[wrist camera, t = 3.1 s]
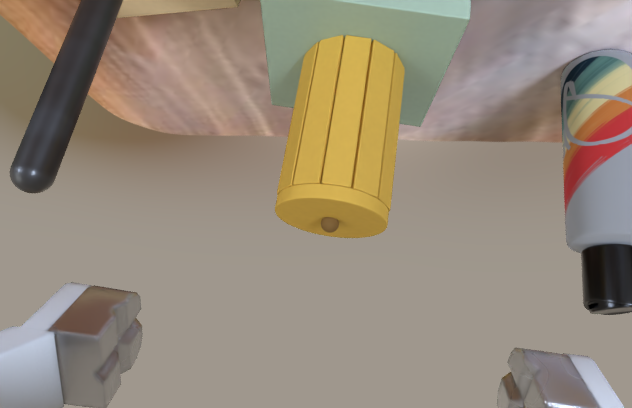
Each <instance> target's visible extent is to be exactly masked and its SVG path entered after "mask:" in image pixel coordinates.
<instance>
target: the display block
mask: <svg viewBox="0 0 632 408" xmlns="http://www.w3.org/2000/svg"><path fill="white" fill-rule="evenodd" d="M260 2H261V11H262V20H263V29H264V38H265V47H266V56H267V65H268V74H269V83H270V92H271V101H272V105H277V106H283V107H290V108H294V105H295V100H296V95H297V90H298V84H299V79H300V74H301V69H302V64H303V59H304V56H305V54H306V53H307V52H308V51H309V50H310V49H311V48H312V47H313V46H314V45H315V44H316V43H317V42H319V43H320V40H323V39H327V38H331V37H335V36H340V35H343V36H344V38H345V36H346V35H350V36H357V37H364V38H371V40H372V41H373V40H376V41H378V42H380V43H382V44H383V45H385V46H387V47H388V48H390V49H392V50H394V53H397V55H398V57H399V58H400V60H401V62H402V64H403V66H404V68H405V69H404V71H405V74H404V83H403V93H402V102H401V112H400V121H399V124H405V125H412V126H419V127H420V126H421V124H422V122H423V120H424V118H425V116H426V114H427V111H428V109H429V107H430V105H431V103H432V101H433V98H434V96H435V94H436V92H437V90H438V88H439V85H440V83H441V81H442V79H443V77H444V74H445V72H446V70H447V68H448V66H449V64H450V61H451V59H452V57H453V55H454V53H455V51H456V48H457V46H458V44H459V42H460V40H461V38H462V35H463V33H464V31H465V29H466V27H467V24H468V22H469V20H470V9H471V0H260ZM372 41H371V42H372Z"/></svg>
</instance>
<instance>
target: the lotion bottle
mask: <svg viewBox="0 0 632 408" xmlns="http://www.w3.org/2000/svg"><path fill="white" fill-rule="evenodd" d="M561 112H562V141H563V169H564V198H565V225H566V242H567V245H568V247H569V248H570V249H572V250H573V251H576V252H579V253H581V259H582V282H583V304H584V306H585V308H586V309H588V310H589V311H590V313H592V314H604V315H616V314H623V313H630V312H632V54H631V53H628V52H626V51H622V50H600V51H595V52H591V53H588V54H585V55H583V56H581V57H579V58H577V59H575V60H574V61H572V62H571V63H570V64H569V65H568V66H567V67H566V68H565V69H564V71H563V73H562V76H561Z"/></svg>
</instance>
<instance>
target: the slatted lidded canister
mask: <svg viewBox="0 0 632 408" xmlns="http://www.w3.org/2000/svg"><path fill="white" fill-rule="evenodd" d="M371 41H372V40H371V38H364V37H357V36H350V35H346V36H345V38H344V36H343V35H340V36H335V37H331V38H327V39H323V40H320V43H319V42H317V43H316V44H315V45H314V46H313V47H312V48H311V49H310V50H309V51H308V52H307V53H306V54H305V56H304V59H303V64H302V69H301V74H300V79H299V84H298V90H297V95H296V100H295V105H294V110H293V115H292V120H291V125H290V130H289V135H288V141H287V145H286V150H285V155H284V160H283V165H282V171H281V176H280V180H279V186H278V190H277V195H278V196H277V201H276V206H275V212H276V214H277V216H278V217H279V218H280V219H281V220H283V221H284V222H286V223H287V224H289V225H291V226H294V227H296V228H298V229H301V230H304V231H307V232H311V233H315V234H319V235H325V236H331V237H340V238H362V237H370V236H374V235H377V234H380V233H382V232H383V231H384V230H385V229H386V228H387V224H388V215H389V211H390V206H391V197H392V187H393V177H394V167H395V158H396V150H397V140H398V131H399V121H400V112H401V102H402V93H403V83H404V74H405V71H404V69H405V68H404V66H403V64H402V62H401V60H400V58H399V57H398V55H397V53H394V50H392V49H390V48H388V47H387V46H385V45H383V44H382V43H380V42H378V41H376V40H373V41H372V42H371Z"/></svg>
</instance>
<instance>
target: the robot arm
mask: <svg viewBox="0 0 632 408" xmlns="http://www.w3.org/2000/svg"><path fill="white" fill-rule="evenodd" d="M140 310H141V300H140V296H139V295H138V294H137V293H136V292H130V291H124V290H118V289H112V288H106V287H100V286H91V285H87V284H80V283H73V282H71V283H67V284H65V285H63V286H62V287H61V288H60V289H59V290H58V291H57V292H56V293H55V294H54V295H53V296H52V297H51V298H50V299H49V300H48V301H47V302H46V303H45V304H44V305H43V306H42V307H41V308H40V309H39V310H38V311H36V312H35V313H34V314H33V316H31V317H30V318H29V319H28V320H27V321H26V322H25V323H24V324H23V325H22V326H21V327H16V326H12V327H10V328H7V329H4V330H2V331H0V408H62V407H64V404H68V405H76V406H84V407H93V408H107V406H108V404H109V403H110V401H111V400H112V398H113V396H114V395H115V393H116V392H117V390H118V388H119V387H120V385H121V377H120V374H122V373H124V372H126V371H127V370H129V369H131V367H132V366H133V364H134V362H135V360H136V358H137V356H138V353H139V350H140V347H141V341H142V325H141V324H140V322H139V321H138V320H137V319H136V316H137V314H138V313H139V311H140ZM508 364H509V367H510V369H511V372H510V373H508V374H507V375H506V376H504V377H503V378H502V379H501V382H500V386H499V389H498V399H497V405H498V408H624V406H623V405H622V403H621V402H620V400H619V398H618V397H617V395H616V394H615V392H614V391H613V389H612V388H611V386H610V385H609V383H608V382H607V380H606V379H605V377H604V375H603V374H602V373H601V371H600V369H599V368H598V366H597V365H596V363H595V362H594V360H593V359H591V358H590V357H588V356H582V355H574V354H564V353H563V354H558V353H552V352H544V351H537V350H530V349H523V348H514V350H513V351H512V352H511V354H510V357H509V359H508Z"/></svg>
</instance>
